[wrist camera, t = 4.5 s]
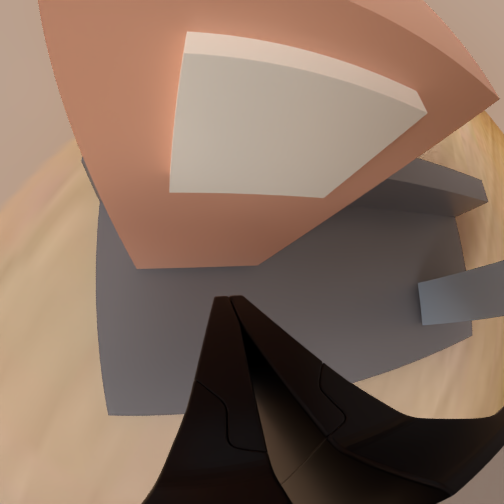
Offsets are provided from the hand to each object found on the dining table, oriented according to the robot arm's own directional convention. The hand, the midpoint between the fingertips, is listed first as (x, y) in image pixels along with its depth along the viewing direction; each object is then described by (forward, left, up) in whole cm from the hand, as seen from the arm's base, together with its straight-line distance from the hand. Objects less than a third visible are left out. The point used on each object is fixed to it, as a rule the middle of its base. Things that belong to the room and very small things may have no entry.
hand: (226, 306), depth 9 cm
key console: (-5, -7, -7) cm, 11 cm away
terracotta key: (+3, -2, -5) cm, 6 cm away
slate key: (-13, -11, -5) cm, 18 cm away
